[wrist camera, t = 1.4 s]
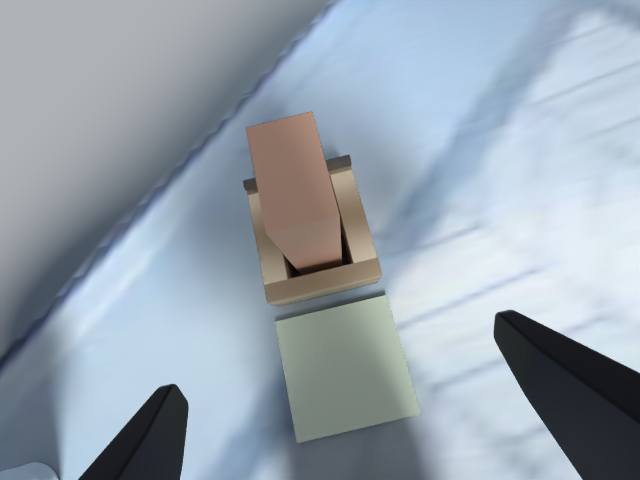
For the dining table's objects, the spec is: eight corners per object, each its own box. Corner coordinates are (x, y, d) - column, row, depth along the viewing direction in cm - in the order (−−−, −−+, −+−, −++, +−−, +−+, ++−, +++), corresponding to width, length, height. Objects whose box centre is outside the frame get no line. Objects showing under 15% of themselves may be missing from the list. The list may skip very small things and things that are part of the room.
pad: (419, 412, 20) (421, 414, 20) (297, 441, 20) (296, 443, 20) (386, 295, 22) (386, 294, 22) (275, 321, 22) (274, 321, 22)
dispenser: (376, 282, 23) (383, 272, 18) (278, 306, 23) (264, 301, 19) (347, 178, 25) (347, 149, 21) (258, 200, 25) (242, 176, 21)
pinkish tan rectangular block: (342, 266, 23) (339, 215, 12) (302, 276, 23) (265, 233, 13) (326, 204, 24) (312, 111, 14) (289, 214, 24) (245, 127, 14)
